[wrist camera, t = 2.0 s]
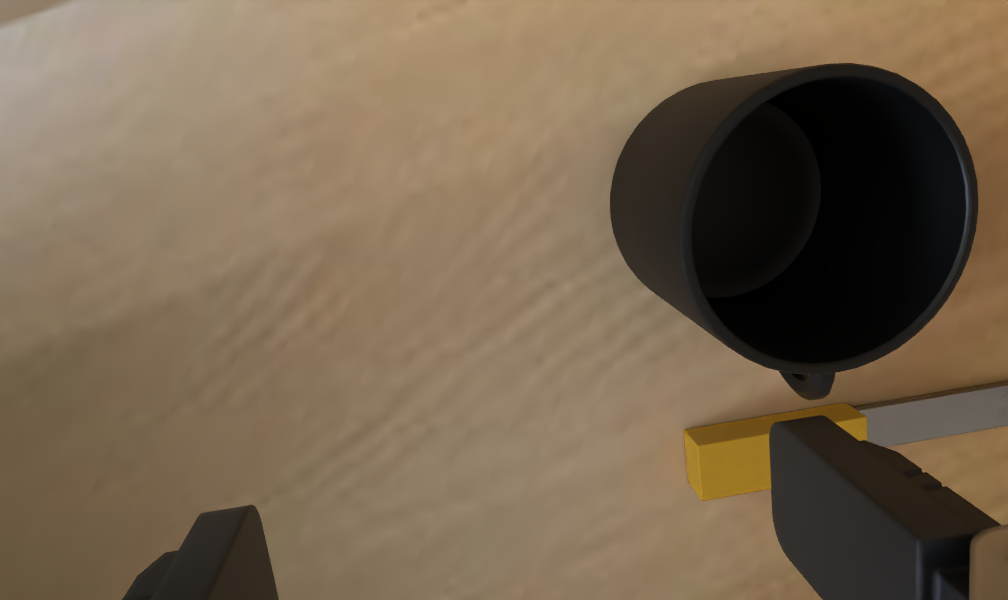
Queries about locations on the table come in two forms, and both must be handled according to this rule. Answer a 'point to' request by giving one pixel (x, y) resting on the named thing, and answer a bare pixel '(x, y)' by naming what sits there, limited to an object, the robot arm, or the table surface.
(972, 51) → the table surface
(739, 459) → the letter opener
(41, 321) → the table surface
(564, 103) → the table surface
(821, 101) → the mug
